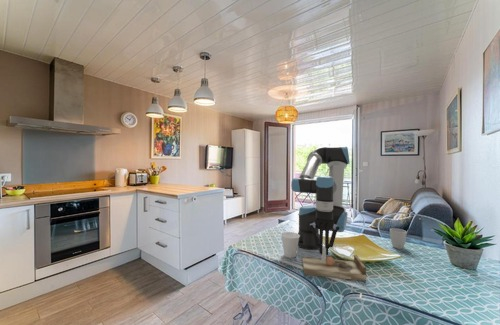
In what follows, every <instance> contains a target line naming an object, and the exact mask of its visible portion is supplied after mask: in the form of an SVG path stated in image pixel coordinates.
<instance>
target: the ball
mask: <svg viewBox="0 0 500 325" xmlns="http://www.w3.org/2000/svg"><path fill="white" fill-rule="evenodd" d="M334 260H335V259H333V257H331V256H326V264H327V265H333V263H334Z"/></svg>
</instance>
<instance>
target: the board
mask: <svg viewBox="0 0 500 325" xmlns="http://www.w3.org/2000/svg"><path fill="white" fill-rule="evenodd" d="M333 260H334V263H333V265H327V264H326V263H322V257H312V256H311V257H310V256H302V259H301V262H302V268H303V274H304V275H309V276H317V277H327V278H335V279H336V278H337V279H343V280H344V279H345V280H346V279H347V280H353V281H361V282H362V281H363V282H366V280H367V267H366V266H365V264H364V263H363V262H362V260H361V259H360V258H359V256H358V255H357V254H356V255H353V261H352V260H342V259H333Z"/></svg>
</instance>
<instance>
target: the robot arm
mask: <svg viewBox="0 0 500 325" xmlns="http://www.w3.org/2000/svg"><path fill="white" fill-rule="evenodd" d="M321 165H326V166H327V167H328V176H326V175H325V176H322V175H319V176H317V177H316V178H315V176H316V174H317V172H318V169H319V167H320V166H321ZM348 165H350V155H349V148H348V147H347V146H345V145H339V146H338V145H336V146H332V145H331V146H330V145H329V146H320V147H317V148H315V149H314V150H312V151H311V152H310V153H309V154H308V155H307V158H306V163H305V166H304V167H303V169H302V171H301V173H300V175H299V176H298V177H296V178H292V180H291V190H292V191H293V192H294V193H303V194H315V205H314V204H313V205H312V204H309V205H303V206H301V207H299V210H298V231H297V234H299V235H300V237H299V242H298V247H299V248H301V249H306V250H318V251H319V255H321V258H322V263H326V258H327V256H329V249H330V248H333V247H334V245H335V244H334V243H335V240H336V237H337V233H344V231H345V230H346V227H347V222H348V215H349V214H348V212H347V211H346V208H345V207H344V206H343V197H344V196H343V195H344V194H343V192H344V181H345V180H344V179H345V178H344V177H345V170H346V168H347V166H348ZM330 232H332V233H331V236H330ZM324 234H325V235H324ZM324 236H325V237H324ZM329 237H330V239H329Z"/></svg>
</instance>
